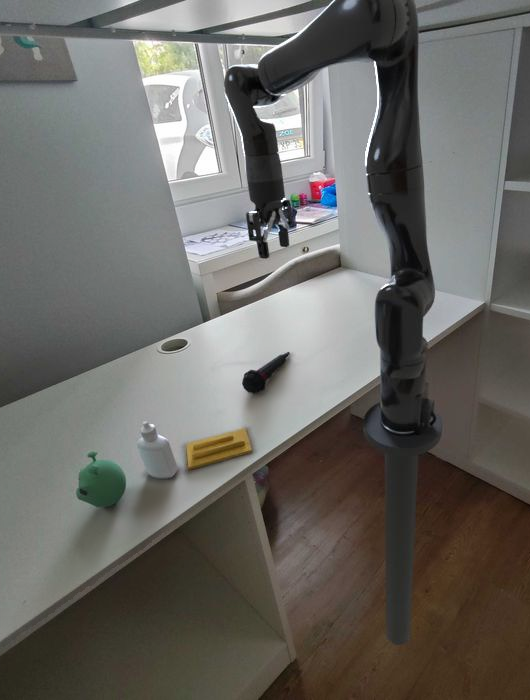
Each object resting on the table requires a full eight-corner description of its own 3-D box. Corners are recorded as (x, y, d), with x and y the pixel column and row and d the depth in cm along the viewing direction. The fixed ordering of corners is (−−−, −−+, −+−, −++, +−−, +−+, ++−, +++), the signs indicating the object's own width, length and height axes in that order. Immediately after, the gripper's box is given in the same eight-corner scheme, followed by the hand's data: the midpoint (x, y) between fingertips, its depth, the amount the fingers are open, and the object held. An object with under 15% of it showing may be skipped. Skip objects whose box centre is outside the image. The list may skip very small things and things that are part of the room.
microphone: (283, 364, 119) (242, 399, 102) (276, 344, 118) (233, 377, 101) (301, 361, 117) (261, 396, 100) (293, 341, 115) (252, 374, 98)
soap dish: (246, 430, 92) (244, 424, 91) (252, 451, 86) (250, 446, 86) (186, 446, 89) (185, 440, 88) (188, 469, 83) (187, 464, 82)
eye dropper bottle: (159, 486, 80) (140, 435, 74) (145, 471, 83) (126, 422, 77) (181, 472, 83) (164, 422, 77) (166, 458, 86) (149, 409, 80)
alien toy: (83, 497, 79) (62, 455, 74) (129, 479, 82) (112, 438, 77) (85, 525, 74) (63, 482, 68) (134, 505, 77) (116, 463, 71)
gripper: (260, 183, 86) (272, 263, 94) (297, 171, 97) (304, 244, 105) (229, 183, 89) (243, 260, 97) (268, 171, 100) (277, 241, 108)
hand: (275, 252), depth 101 cm, fingers open, 8 cm apart
